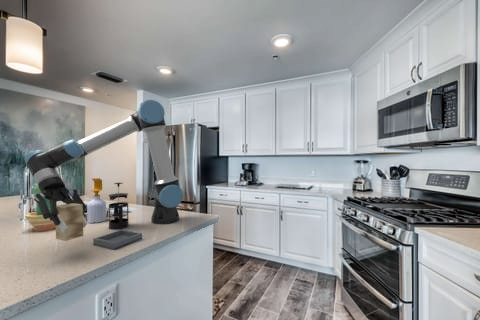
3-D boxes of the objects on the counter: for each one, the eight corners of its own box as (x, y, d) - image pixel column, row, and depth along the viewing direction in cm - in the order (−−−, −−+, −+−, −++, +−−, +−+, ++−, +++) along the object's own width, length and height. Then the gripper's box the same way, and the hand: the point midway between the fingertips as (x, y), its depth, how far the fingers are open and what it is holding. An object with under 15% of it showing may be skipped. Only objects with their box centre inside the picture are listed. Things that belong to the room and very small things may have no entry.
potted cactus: (62, 222, 125) (61, 177, 125) (67, 227, 115) (66, 179, 115) (24, 228, 114) (23, 179, 114) (26, 235, 104) (25, 181, 104)
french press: (131, 227, 114) (131, 182, 114) (110, 231, 108) (110, 184, 108) (125, 222, 123) (125, 181, 123) (106, 225, 117) (105, 182, 117)
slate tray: (121, 234, 103) (121, 229, 103) (142, 238, 97) (142, 233, 97) (93, 244, 91) (93, 238, 91) (114, 250, 86) (114, 243, 86)
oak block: (73, 233, 87) (73, 203, 87) (83, 235, 84) (82, 204, 84) (56, 238, 81) (55, 206, 81) (65, 241, 79) (64, 207, 79)
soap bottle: (84, 224, 121) (84, 179, 121) (91, 219, 130) (90, 177, 130) (103, 222, 123) (102, 178, 123) (108, 218, 132) (107, 177, 132)
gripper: (72, 185, 98) (97, 226, 91) (14, 192, 81) (39, 243, 74) (79, 173, 96) (105, 215, 89) (21, 177, 78) (48, 229, 72)
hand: (75, 227), depth 81 cm, fingers closed on oak block, 6 cm apart
